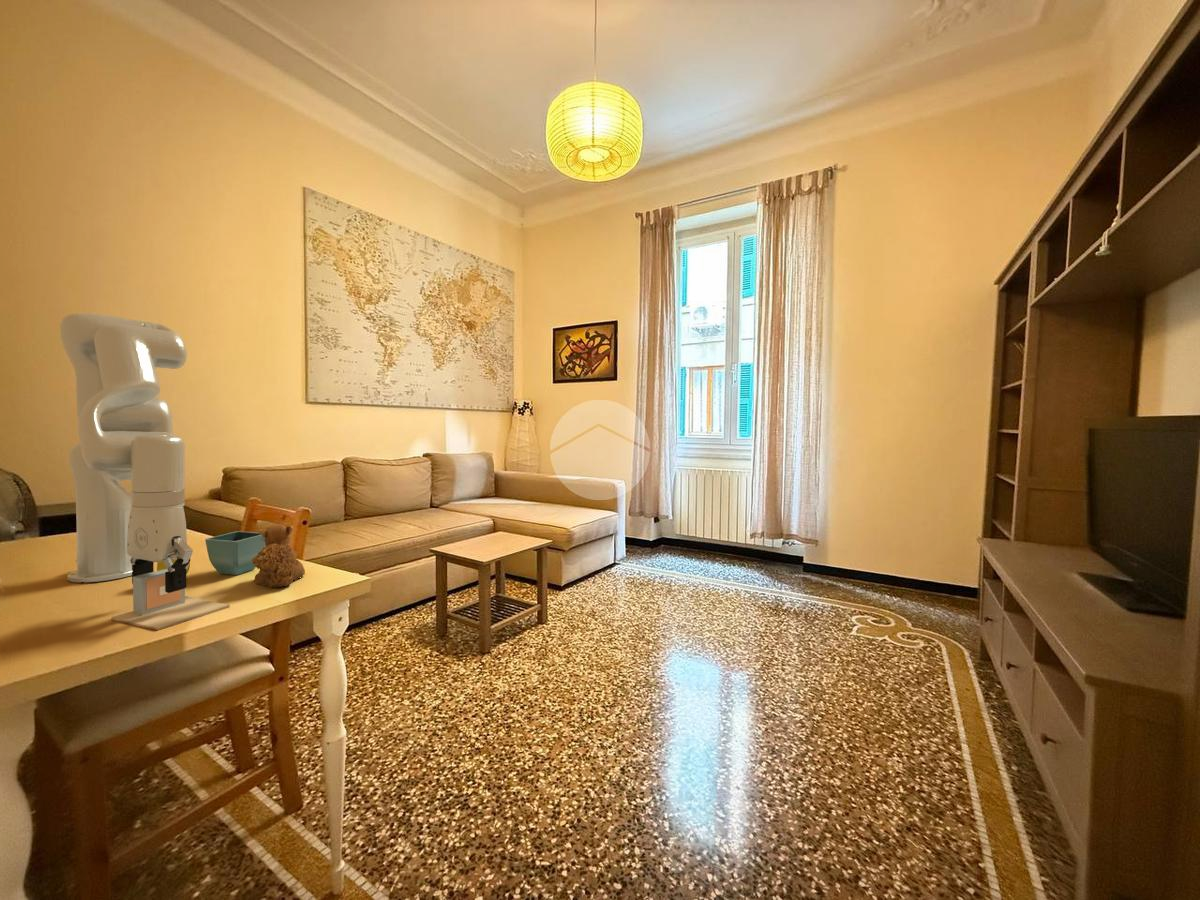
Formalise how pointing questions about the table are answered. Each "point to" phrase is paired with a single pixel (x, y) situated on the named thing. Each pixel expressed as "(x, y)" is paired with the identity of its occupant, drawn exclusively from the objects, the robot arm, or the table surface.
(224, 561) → the flower pot
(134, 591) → the tile
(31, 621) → the table surface
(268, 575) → the brown fuzzy figure
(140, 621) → the cork mat
